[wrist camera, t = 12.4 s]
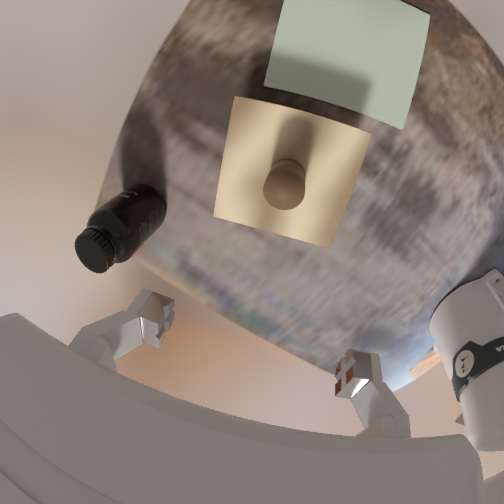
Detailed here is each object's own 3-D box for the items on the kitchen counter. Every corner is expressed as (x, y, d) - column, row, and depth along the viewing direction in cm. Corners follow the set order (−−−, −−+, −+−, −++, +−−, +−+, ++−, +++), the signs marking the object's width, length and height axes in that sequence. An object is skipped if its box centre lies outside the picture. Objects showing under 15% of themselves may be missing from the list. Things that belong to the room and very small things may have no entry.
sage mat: (428, 16, 15) (430, 15, 15) (401, 129, 24) (402, 130, 23) (292, -31, 16) (292, -32, 16) (264, 85, 24) (263, 85, 24)
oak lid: (369, 132, 21) (384, 142, 17) (328, 244, 28) (331, 272, 24) (237, 95, 21) (221, 97, 17) (215, 213, 28) (199, 236, 24)
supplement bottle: (140, 171, 32) (78, 212, 22) (176, 208, 34) (127, 261, 24) (116, 204, 35) (61, 249, 25) (149, 237, 37) (103, 291, 27)
